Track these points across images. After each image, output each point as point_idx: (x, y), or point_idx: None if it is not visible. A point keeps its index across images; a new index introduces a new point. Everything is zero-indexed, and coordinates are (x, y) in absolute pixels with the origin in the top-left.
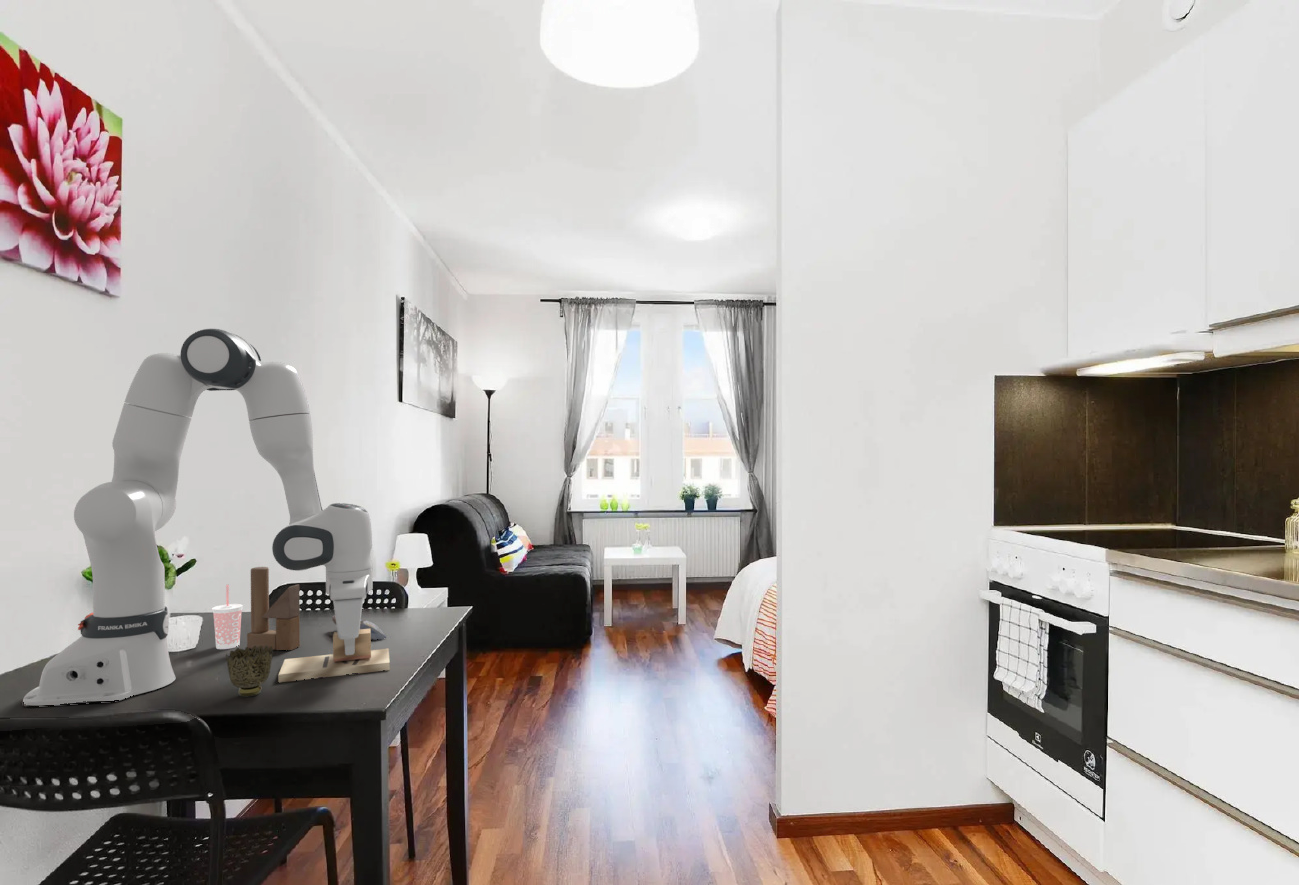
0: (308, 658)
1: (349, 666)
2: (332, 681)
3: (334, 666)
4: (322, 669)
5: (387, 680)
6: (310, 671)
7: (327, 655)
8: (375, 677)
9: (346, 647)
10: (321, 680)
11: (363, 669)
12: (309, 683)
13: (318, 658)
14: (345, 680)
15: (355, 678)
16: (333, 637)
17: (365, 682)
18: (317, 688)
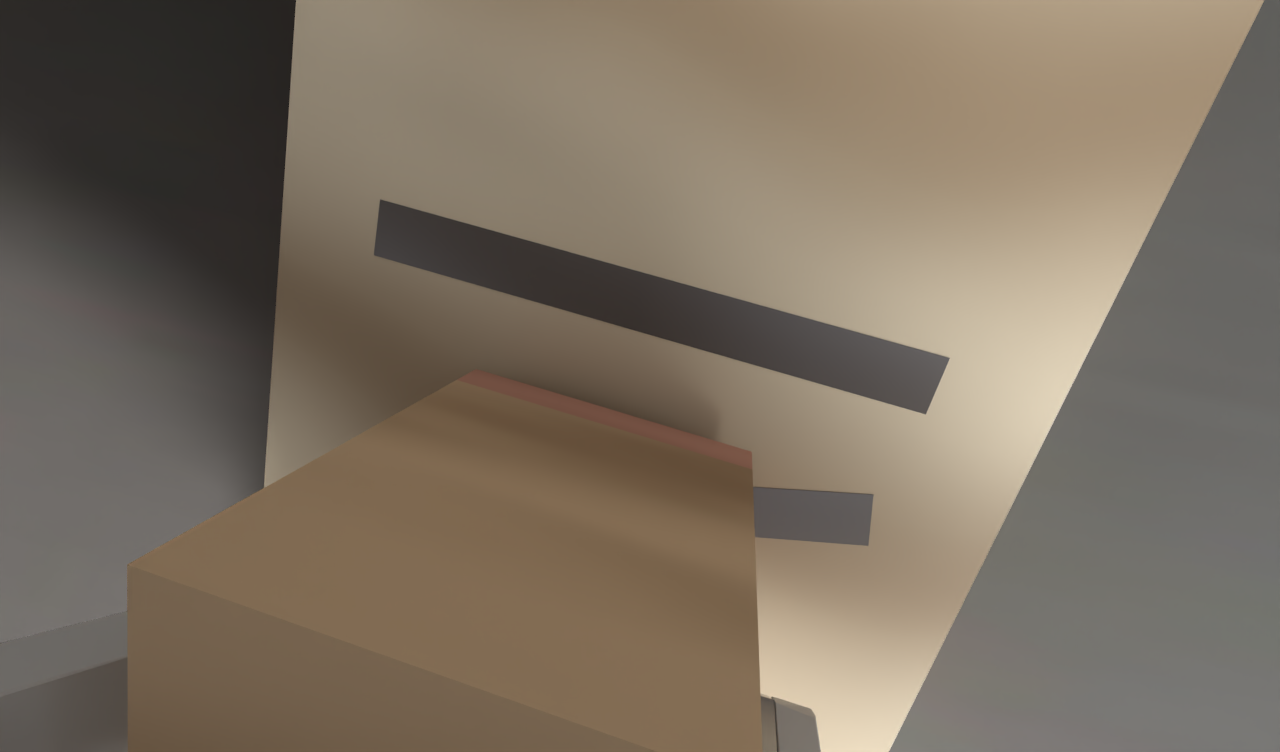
0: (1064, 101)
1: (280, 478)
2: (179, 246)
3: (361, 342)
4: (297, 181)
5: (41, 616)
6: (303, 18)
7: (1011, 407)
8: None
9: None
10: (258, 152)
11: None
12: (206, 8)
13: (933, 251)
14: (162, 358)
15: (185, 447)
16: (141, 564)
17: (47, 477)
18: (12, 62)
